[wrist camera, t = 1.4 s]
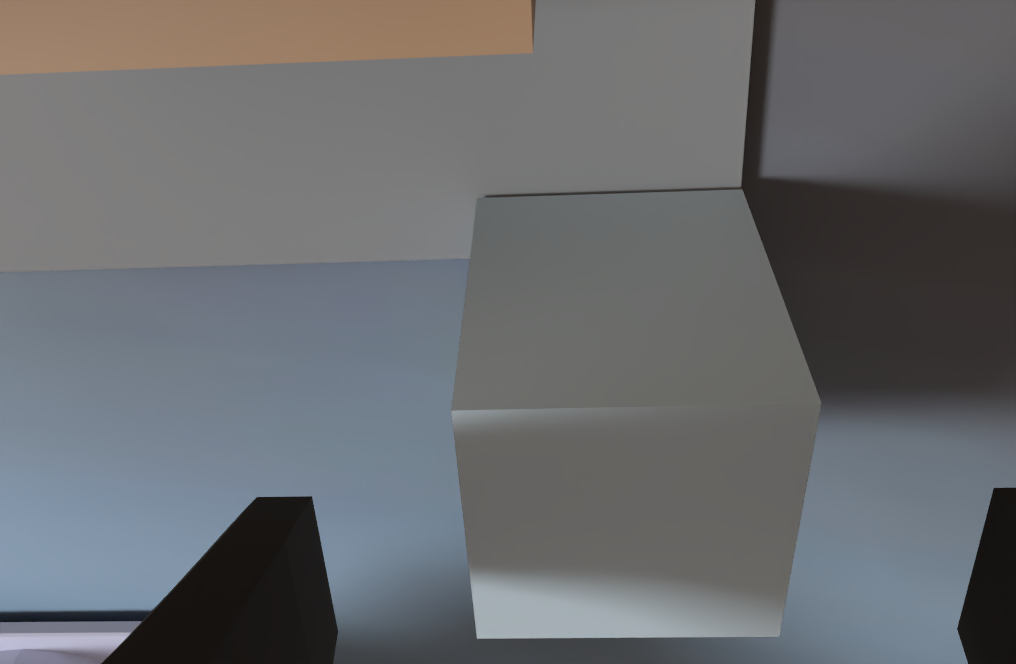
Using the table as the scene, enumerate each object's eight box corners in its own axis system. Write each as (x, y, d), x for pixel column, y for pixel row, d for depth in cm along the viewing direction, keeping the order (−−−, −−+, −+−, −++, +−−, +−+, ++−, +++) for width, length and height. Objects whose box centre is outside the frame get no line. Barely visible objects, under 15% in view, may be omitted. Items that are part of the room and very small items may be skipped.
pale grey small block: (722, 395, 17) (778, 636, 13) (493, 400, 17) (476, 639, 13) (742, 189, 14) (821, 403, 10) (476, 198, 14) (451, 411, 10)
